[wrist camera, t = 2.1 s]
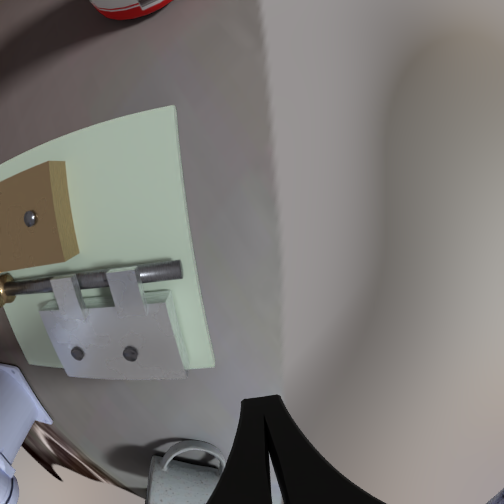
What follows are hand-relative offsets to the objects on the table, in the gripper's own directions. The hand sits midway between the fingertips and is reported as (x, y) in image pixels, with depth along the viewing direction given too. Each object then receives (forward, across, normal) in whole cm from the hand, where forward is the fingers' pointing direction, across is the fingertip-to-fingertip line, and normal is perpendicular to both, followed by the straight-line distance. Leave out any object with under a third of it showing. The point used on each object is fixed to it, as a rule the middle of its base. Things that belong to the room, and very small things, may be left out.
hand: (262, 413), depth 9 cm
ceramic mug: (+8, +8, +18) cm, 21 cm away
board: (+8, +11, -5) cm, 15 cm away
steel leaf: (+7, +9, -1) cm, 11 cm away
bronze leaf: (+7, +11, -7) cm, 15 cm away
